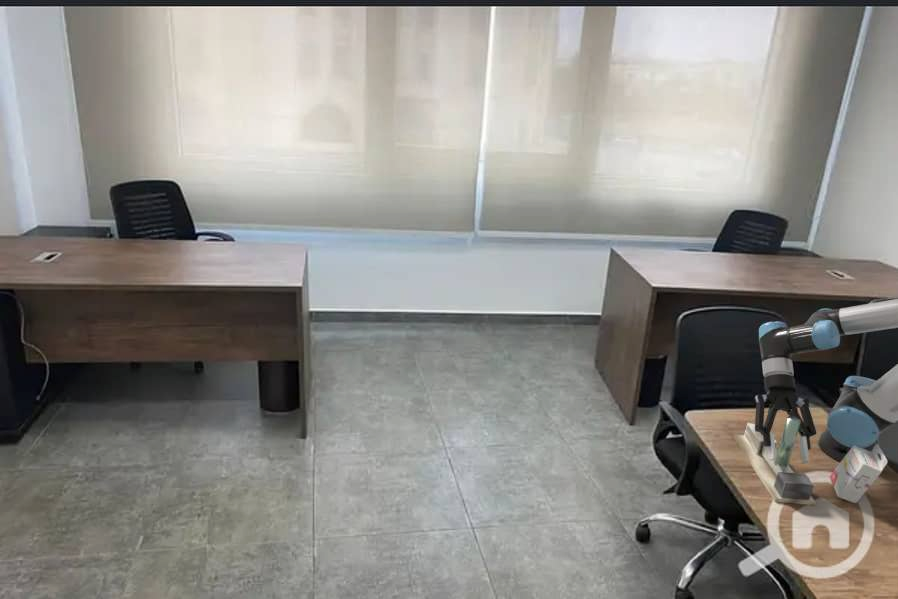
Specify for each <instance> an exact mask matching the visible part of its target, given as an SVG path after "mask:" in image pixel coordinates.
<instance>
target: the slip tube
mask: <svg viewBox="0 0 898 599" xmlns="http://www.w3.org/2000/svg"><path fill="white" fill-rule="evenodd" d="M800 423H801V420H800V419H799V418H797V417H794V416H789V415H788V416H787V418H786V421H785V425H784V428H783V431H782V434H781V438H780V441H779V444H778V448H776V457H777V459H774V460H769V456H768V447H766V446H765V445H764V443H762V444H761V447H760V452H761V454H762V455H763V457H764V458H765V460H766V461H767V462H768V464H769V465H770V467H771V468H772V470H773V471H774V473H775V474H776V475H777V474H778V472H787V473H795V472H794V470H793V469H792V468H791V466H790V465H789V462H790V458H791V456H792V452H793V449H794V446H795V443H796V439H797V435H798V434H799V432H798V430H799V426H800ZM777 450H778V451H777ZM788 465H789V466H790V467H789V466H788ZM791 469H792V470H793V471H792V470H791Z"/></svg>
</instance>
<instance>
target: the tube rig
mask: <svg viewBox="0 0 898 599" xmlns="http://www.w3.org/2000/svg"><path fill="white" fill-rule="evenodd" d="M763 427H764V426H763ZM733 439H734V441H735V442H736V444H737V445H738V446H739V448H740V450H741V451H742V453H743V455H744V456H745V458H746V459H747V461H748V463H749V464H750V465H751V467H752V468H753V470H754V472H755V473H756V474H757V477H758V478H759V479H760V481H761V482H762V484H763V485H764V487H765V488H766V491H767V492H768V493H769V494H770V497H772V500H773V501H774V502H776V503H777V502H778V503H787V504H796V505H797V504H798V505H806V506H807V505H810V506H816V504H817V502H816V500H815V499H814V497H813V496H812V493H813V490H814V486H815V485H814V483H813V482H812V480H811V479H810V478H809V477H808V475H807V474H806V473H797V472H794V470H793V469H792V468H791V466H790V465H789V464H788V466H789V467H790V468H791V470H792V471H793V472H794V473H787V472H778V474H777V475H776V474H775V473H774V471H773V470H772V468H771V467H770V465H769V464H768V462H767V461H766V460H765V458H764V457H763V455H762V454H761V452H760V447H761V444H762V443H764V440H763V435H761V433H760V432H756V431H755V422H747V423H746V428H745V431H744V434H736V433H734V434H733ZM774 440H775V448H776V447H777V444H778V442H777V441H776V439H775V438H774ZM776 449H777V448H776ZM777 451H778V449H777Z"/></svg>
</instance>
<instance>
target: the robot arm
mask: <svg viewBox="0 0 898 599" xmlns="http://www.w3.org/2000/svg"><path fill="white" fill-rule="evenodd" d="M759 326H760V327H759V329H758V338H759V339H758V343H759V349H760V356H761V357H760V358H761V365H762V366H761V367H762V374H763V377H764V378H763V383H764V390H765V394H762V393H759V394H757V395H755V396H754V402H755V405H756V406H755V419H754V423H755V431H756V432H760V433H761V435H763V440H764V445H765V446H766V447H768V456H769V460H774V459H777V457H776V449H777V448H775V440H776V439H775V433H774V432H773V433H772V432H771V430H772V429H773V425H774V422H775V419H776V415H777V412H778V411H783V412H786V414H787V415H788V416H794V417H797V418H799V419H800V420H801V423H800V426H799V430H798V434H799V436H800V437H798V438H797V440H798V448H799V454H800V463H801V464H806V463H809V462H810V454H809V451H810V450H811V449H812V447H811V440H810V438H811V437H814V436H816V435H817V429H816V426H815V422H814V420H813V417H812V416H813V415H812V413H811V410H810V409H811V408H810V399H809V398H806V397H805V398H801V397H799V396H798V395H797V389H796V388H797V387H796V382H795V380H796V379H795V377H794V374H795V372H794V365H793V358H792V355H798V354H804V353H812V352H817V351H827V350H830V349H834V348H837V347H838V346H840V343H841V342H840V341H841V337H842V336H843V337H844V336H847V335H855V334H862V333H863V334H864V333H869V332H870V333H871V332H875V331H876V332H878V331H883V330H889V329H897V328H898V298H894V299H889V300H884V301H878V302H872V303H871V302H870V303H865V304H859V305H854V306H849V307H842V308H836V309H835V308H834V309H832V308H821V309H819V310H817V311H815V312H814V313H812V314H811V315H810V317H809V318H808V320H807V321H806V322H805V323H803V324H800V325H795V326H791V327H790V326H789V327H788V325H787V323H786V322H782V321H768V322H765V323H762V324H761V325H759ZM765 402H767V403H768V404H769V406H768V412H767V415H766V418H765V406H766V405H765ZM796 404H797V406H796ZM798 407H799V410H798ZM799 412H800V413H799ZM897 422H898V363H897V364H896V365H895V366H893V367H892V368H891V369H890V370H889V371H887V372H886V373H884V374H883V375H882V376H881V377H880V378H878V379H877V380H875V379H871V378H868V377H864V376H859V375H850V376H848V377H847V378H846V379H845V381H844V382H843V387H842V390H841V392H840V396H839V397H838V399H837V401H836V402H835V404H834V405H833V407H832V409H831V410H830V411H829V413H828V416H827V420H826V425H827V427H826V428H825V430H824V431H823V432H822V433H821V434H820V436H819V438H818V442H817V445H818V447H819V449H820V450H821V451H822V452H823V453H824V454H826V455H827V456H829V457H830V458H832V459H834V460H836V461H837V462H839V463H840V462H841V461H842V460H843V458H844V457H845V456H846V454H847V453H848V452H849V450H850V449H851V448H852V447H853V445H855V446H857V447H859V448H863V449H865V450H868V451H870V452H871V451H872V450H873V448H874V446H875V445H876V444H878V445H879V446H880V444H879V435H880V434H882V433H883V432H884V431H885V430H888V428H891V426H893V425H894V424H895V423H897ZM763 426H764V427H763ZM774 439H775V440H774ZM877 455H878V457H879V458H880V454H879V453H878V454H877Z"/></svg>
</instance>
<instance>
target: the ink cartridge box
mask: <svg viewBox="0 0 898 599" xmlns="http://www.w3.org/2000/svg"><path fill="white" fill-rule="evenodd" d="M878 453H879V457H878V455H877V454H878ZM838 463H839V464H838V465H837V466H836V467H835V469H834V470H833V471H832V473H831V474H830V475H829V479H830V481H831V483H832V485H833V489H834V491H835V493H836V495H837V498H839V499H842V500H845V501H848V502H850V503H853V504H857V503H858V502H859V501H860V499H862V496H864V494H865V493H866V492H867V491H868V490H869V488H870V487H871V486H872V484H873V483H874V482H875V481H876V480H877V478H878V477H879V476H880V475H881V474H882V473H883V470H884V469H885V467H886V466H887V464H888V459H887V458H886V456H885V453H884V452H883V450H882V448H881V447H880V444H879V445H878V444H876V445H875V446H874V448H873V450H872V451H871V452H870V451H868V450H865V449H863V448H859V447H857V446H855V445H853V447H852V448H851V449H850V450H849V452H848V453H847V454H846V456H845V457H844V458H843V460H842V461H841V462H840V461H839V462H838Z"/></svg>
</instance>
